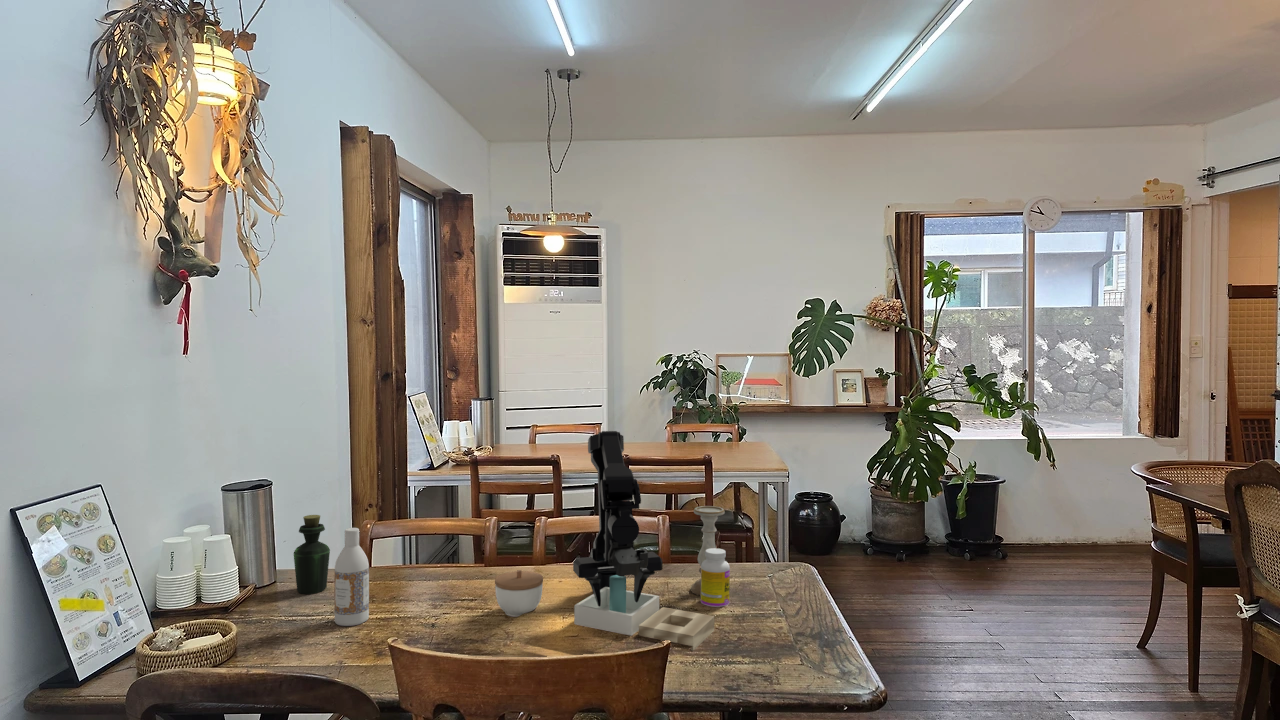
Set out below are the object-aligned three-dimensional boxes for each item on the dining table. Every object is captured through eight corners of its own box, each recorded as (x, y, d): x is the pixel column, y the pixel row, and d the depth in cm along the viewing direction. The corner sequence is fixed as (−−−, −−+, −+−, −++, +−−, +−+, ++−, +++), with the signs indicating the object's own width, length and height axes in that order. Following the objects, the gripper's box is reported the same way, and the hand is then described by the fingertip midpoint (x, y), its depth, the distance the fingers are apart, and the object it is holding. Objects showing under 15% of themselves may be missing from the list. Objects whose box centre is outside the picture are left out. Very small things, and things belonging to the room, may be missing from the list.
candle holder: (732, 589, 183) (733, 508, 182) (716, 599, 175) (717, 514, 175) (700, 583, 187) (701, 503, 187) (684, 592, 180) (684, 510, 180)
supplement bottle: (728, 612, 167) (728, 555, 167) (698, 609, 168) (699, 553, 168) (730, 602, 174) (731, 547, 173) (702, 600, 175) (702, 546, 175)
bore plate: (638, 639, 151) (638, 625, 151) (662, 620, 162) (662, 607, 161) (693, 651, 145) (693, 635, 145) (714, 630, 156) (714, 616, 156)
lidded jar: (552, 612, 166) (552, 570, 166) (514, 624, 158) (514, 581, 158) (523, 600, 174) (523, 560, 173) (485, 612, 166) (485, 570, 166)
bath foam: (327, 624, 158) (327, 531, 157) (349, 613, 164) (349, 524, 164) (354, 628, 156) (354, 534, 155) (375, 617, 162) (375, 526, 162)
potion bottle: (335, 584, 184) (335, 512, 184) (322, 595, 176) (322, 520, 176) (302, 584, 184) (302, 512, 183) (287, 595, 176) (287, 520, 175)
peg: (606, 620, 159) (606, 578, 159) (614, 614, 162) (614, 574, 162) (621, 623, 157) (621, 581, 157) (628, 617, 160) (629, 576, 160)
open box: (574, 628, 156) (574, 605, 156) (605, 608, 169) (605, 586, 169) (631, 640, 151) (631, 616, 150) (659, 618, 163) (659, 596, 163)
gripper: (586, 545, 149) (585, 621, 149) (672, 538, 155) (671, 611, 155) (572, 531, 159) (572, 603, 159) (653, 525, 165) (653, 594, 166)
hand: (617, 603), depth 160 cm, fingers open, 8 cm apart
